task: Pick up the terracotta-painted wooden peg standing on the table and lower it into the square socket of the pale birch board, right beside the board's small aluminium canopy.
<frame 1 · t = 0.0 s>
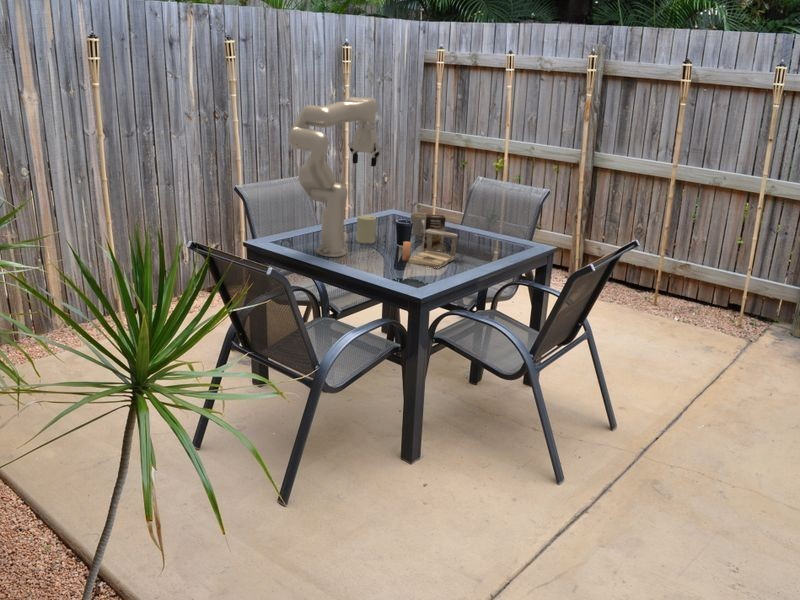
hand: (364, 164, 332), 37 cm above the table, tool pointing down, fingers open, 9 cm apart
peg: (405, 259, 323), on the table
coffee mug: (419, 235, 366), on the table
socket block: (432, 261, 323), on the table
coffee box: (432, 249, 342), on the table
can: (365, 241, 348), on the table
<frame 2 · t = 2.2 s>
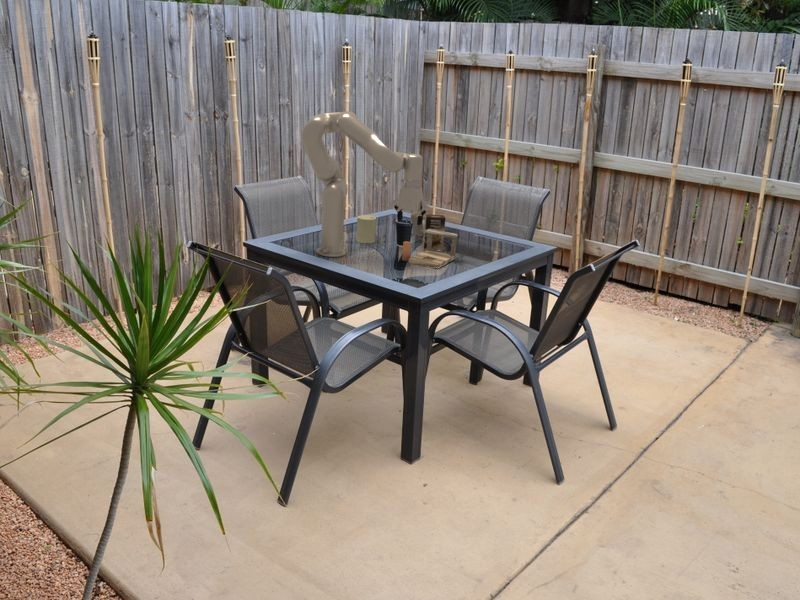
hand: (409, 222, 317), 17 cm above the table, tool pointing down, fingers open, 9 cm apart
nothing on the table moved.
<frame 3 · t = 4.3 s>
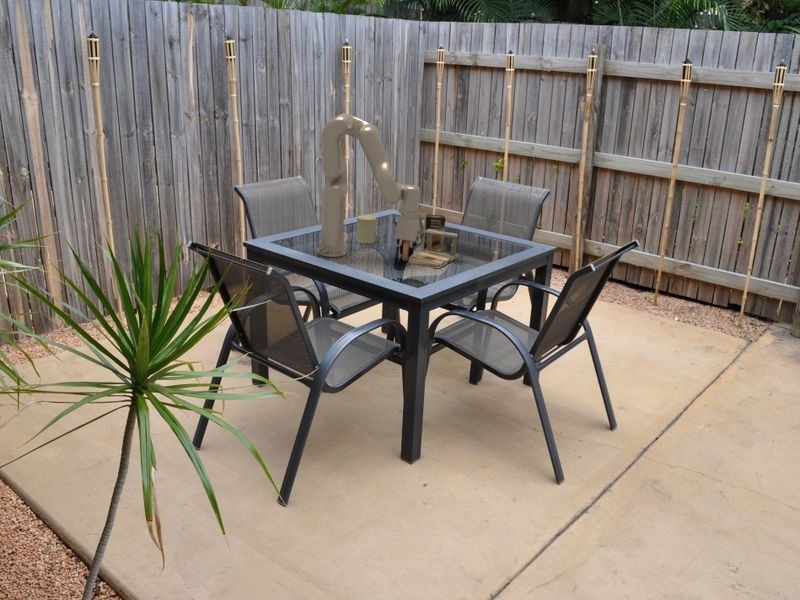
hand: (406, 254, 322), 2 cm above the table, tool pointing down, fingers closed on peg, 3 cm apart
peg: (405, 259, 323), on the table, touching gripper
everything else where it was.
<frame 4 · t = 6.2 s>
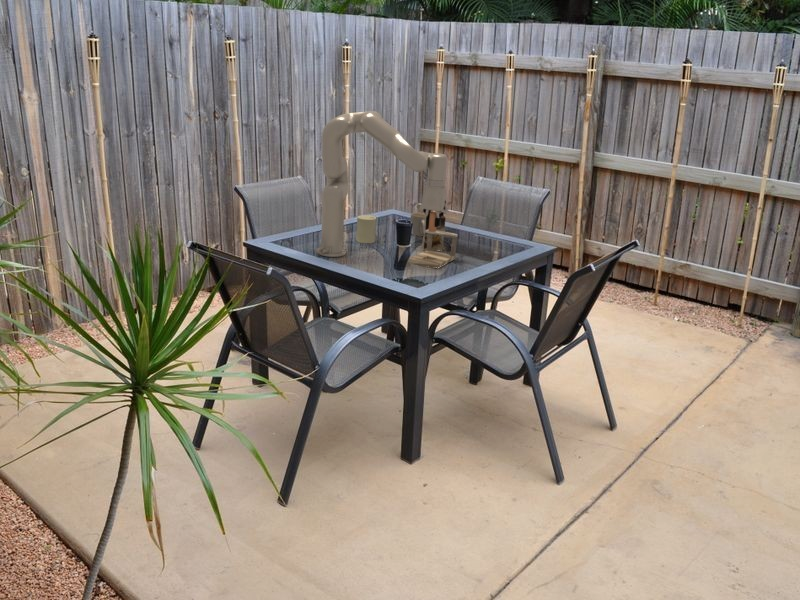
hand: (432, 225, 315), 17 cm above the table, tool pointing down, fingers closed on peg, 3 cm apart
peg: (432, 230, 316), point 14 cm above the table, touching gripper
everything else where it was.
when the fingers open (3 cm above the table, at t = 8.5 s): peg stays where it is, resting in socket block.
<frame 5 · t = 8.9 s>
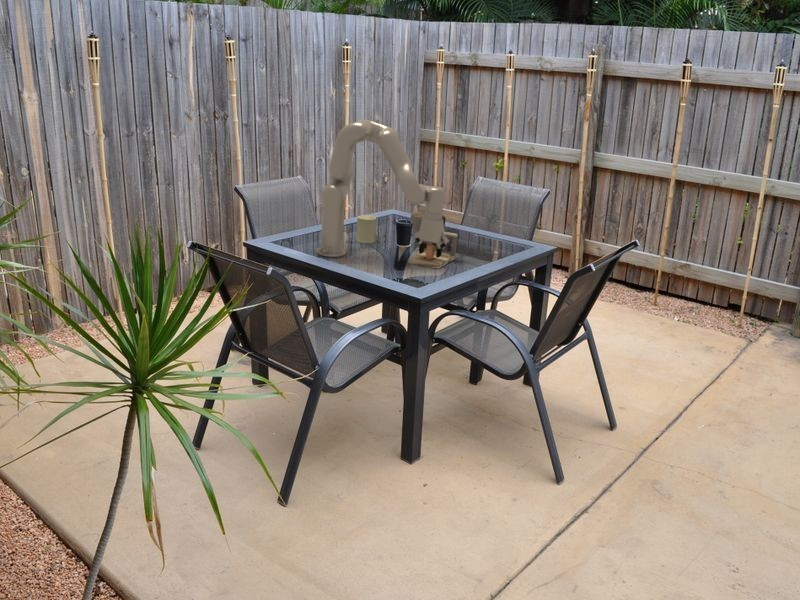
hand: (429, 254, 319), 4 cm above the table, tool pointing down, fingers open, 7 cm apart
peg: (429, 262, 321), resting in socket block
everything else where it was.
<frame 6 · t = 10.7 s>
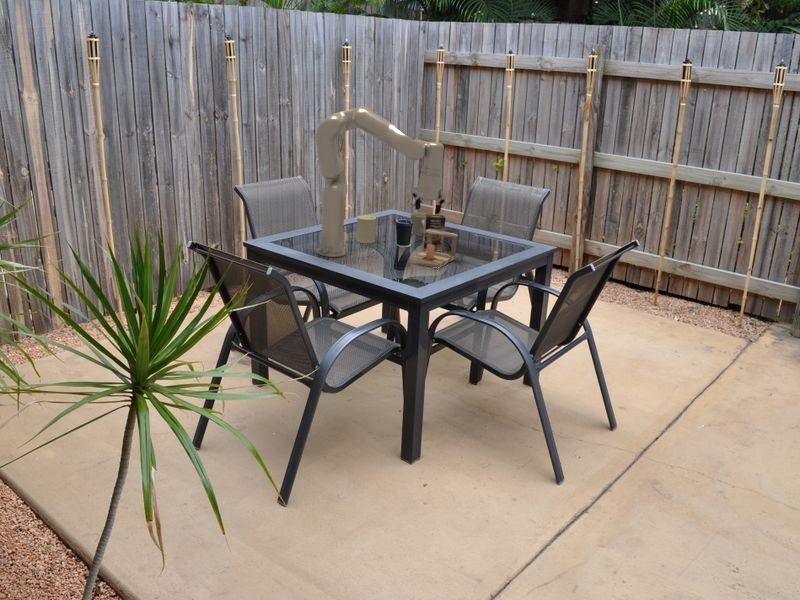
hand: (427, 211, 316), 22 cm above the table, tool pointing down, fingers open, 9 cm apart
nothing on the table moved.
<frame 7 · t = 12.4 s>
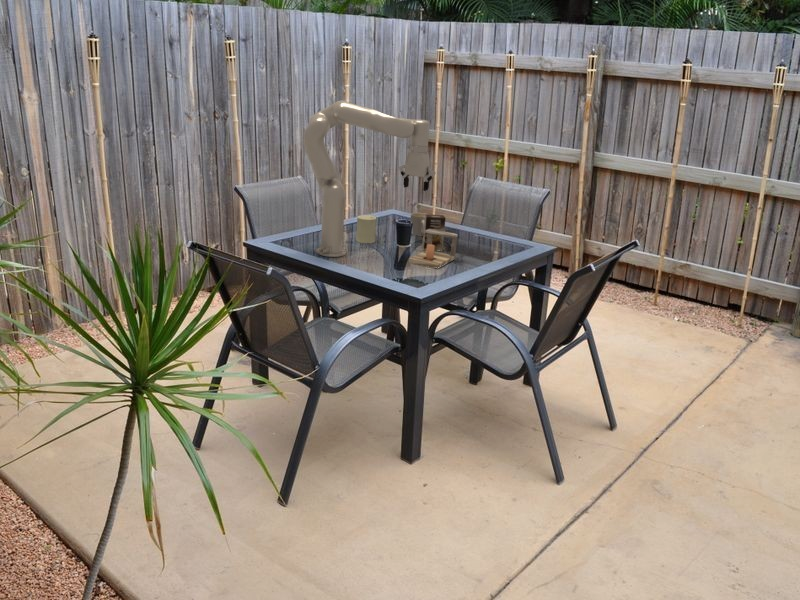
hand: (415, 188, 320), 30 cm above the table, tool pointing down, fingers open, 9 cm apart
nothing on the table moved.
at the end: peg 0.0 cm from the target spot on the socket block, point 0.0 cm above the socket block's base; peg tilted 0°; the gripper is holding nothing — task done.
